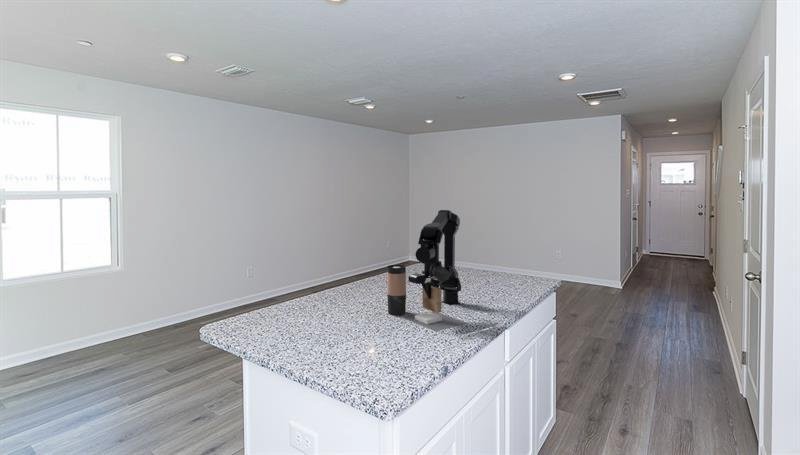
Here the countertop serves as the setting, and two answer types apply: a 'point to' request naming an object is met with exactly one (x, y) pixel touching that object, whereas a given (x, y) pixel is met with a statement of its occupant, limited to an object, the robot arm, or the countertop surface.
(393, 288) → the travel mug
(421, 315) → the tile
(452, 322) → the mat
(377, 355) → the countertop surface
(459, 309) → the countertop surface
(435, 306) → the flat wooden plank
